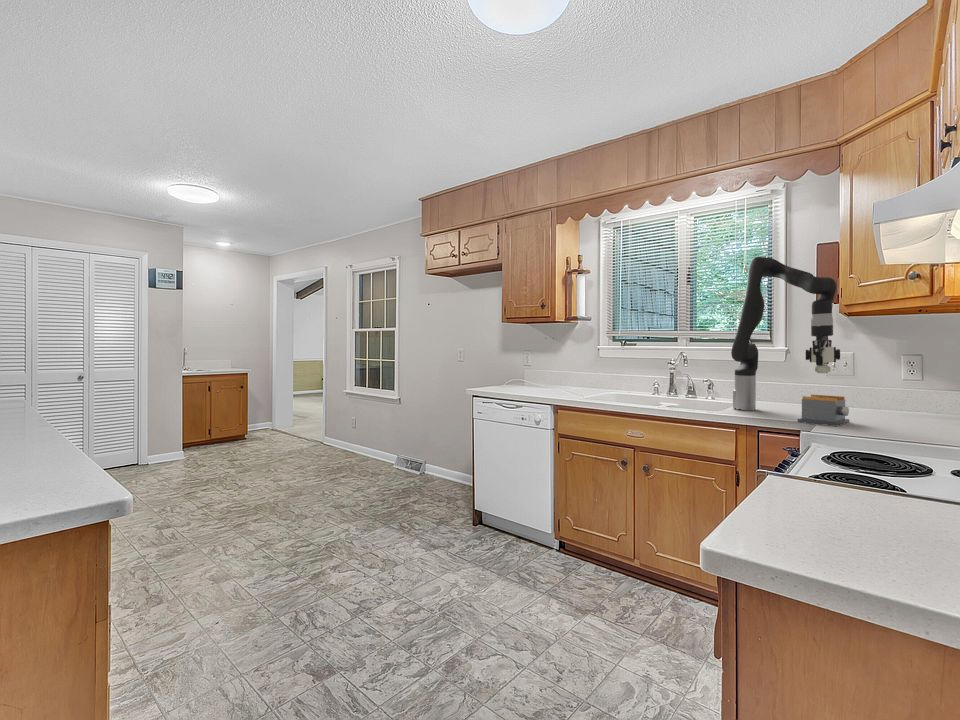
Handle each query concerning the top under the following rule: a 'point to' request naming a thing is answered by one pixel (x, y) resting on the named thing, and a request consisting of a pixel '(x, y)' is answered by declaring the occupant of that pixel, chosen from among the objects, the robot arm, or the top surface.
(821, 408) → the orange-striped grey block
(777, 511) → the top surface
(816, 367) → the pneumatic valve
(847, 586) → the top surface
